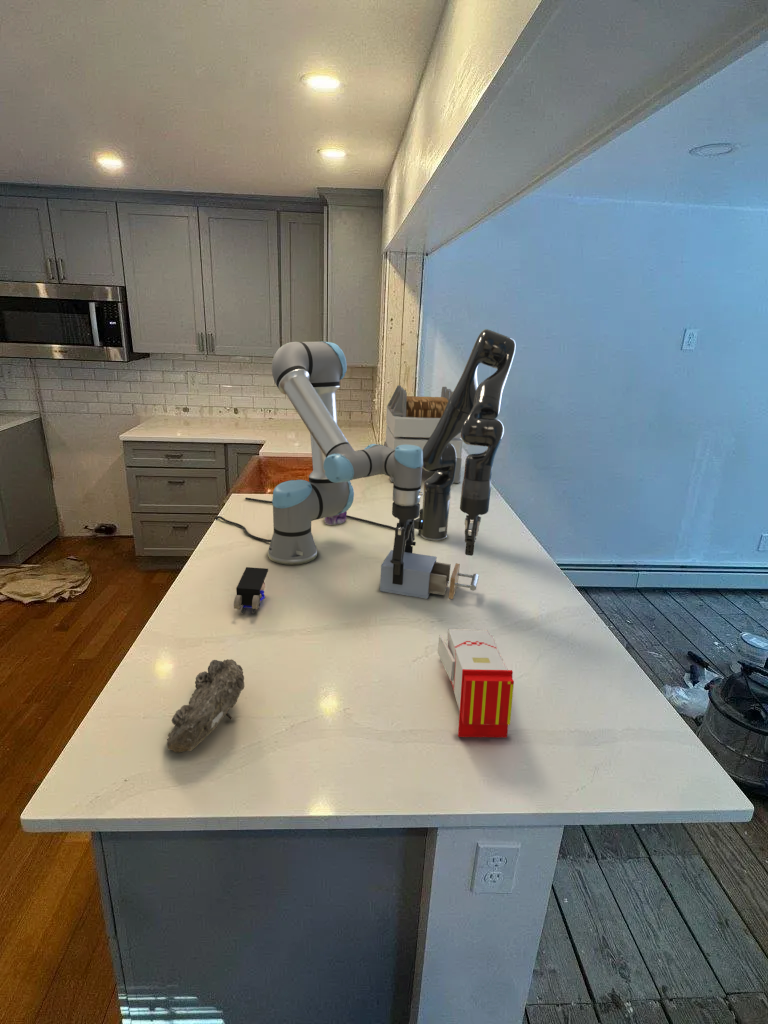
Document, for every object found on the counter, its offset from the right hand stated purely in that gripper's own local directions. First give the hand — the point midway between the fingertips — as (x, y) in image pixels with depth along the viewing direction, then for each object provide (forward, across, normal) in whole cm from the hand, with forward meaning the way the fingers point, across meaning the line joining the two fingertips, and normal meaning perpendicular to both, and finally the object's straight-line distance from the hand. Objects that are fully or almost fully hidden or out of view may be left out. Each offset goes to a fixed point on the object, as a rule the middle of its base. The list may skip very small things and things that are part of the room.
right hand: (469, 554), depth 155 cm
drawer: (+12, 0, +6) cm, 13 cm away
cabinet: (+13, 0, +16) cm, 21 cm away
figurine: (+13, +41, +53) cm, 68 cm away
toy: (+12, -43, -6) cm, 45 cm away
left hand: (+9, 0, +18) cm, 20 cm away
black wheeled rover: (+13, -24, +53) cm, 60 cm away
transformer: (+13, +118, +37) cm, 124 cm away
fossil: (+13, -66, +40) cm, 78 cm away
